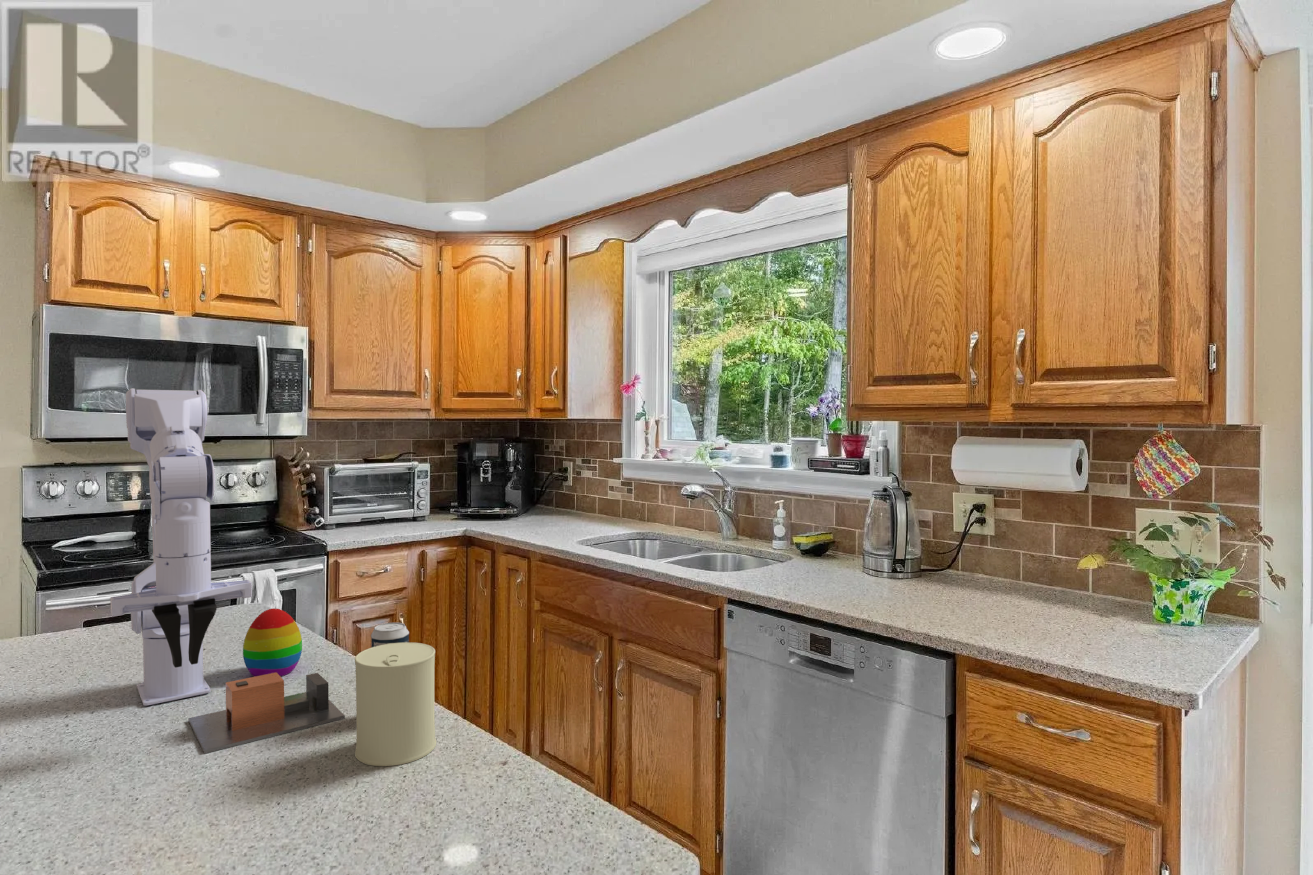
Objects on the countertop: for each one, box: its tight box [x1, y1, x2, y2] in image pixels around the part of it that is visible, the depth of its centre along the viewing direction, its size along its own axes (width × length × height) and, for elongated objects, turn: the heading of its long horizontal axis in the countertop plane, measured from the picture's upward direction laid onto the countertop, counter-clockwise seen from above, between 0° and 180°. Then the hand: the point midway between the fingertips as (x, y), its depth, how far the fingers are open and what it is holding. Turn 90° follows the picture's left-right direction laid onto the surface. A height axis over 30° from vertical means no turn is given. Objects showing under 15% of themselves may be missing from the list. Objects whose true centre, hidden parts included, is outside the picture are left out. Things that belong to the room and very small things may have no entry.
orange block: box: [225, 672, 285, 731], centre depth 96 cm, size 4×6×5 cm, turn 130°
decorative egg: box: [242, 607, 303, 677], centre depth 115 cm, size 8×8×10 cm
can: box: [354, 641, 437, 767], centre depth 89 cm, size 9×9×12 cm
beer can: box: [370, 622, 410, 648], centre depth 99 cm, size 5×5×12 cm
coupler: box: [187, 672, 346, 754], centre depth 97 cm, size 12×16×4 cm
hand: (185, 663), depth 91 cm, fingers closed
